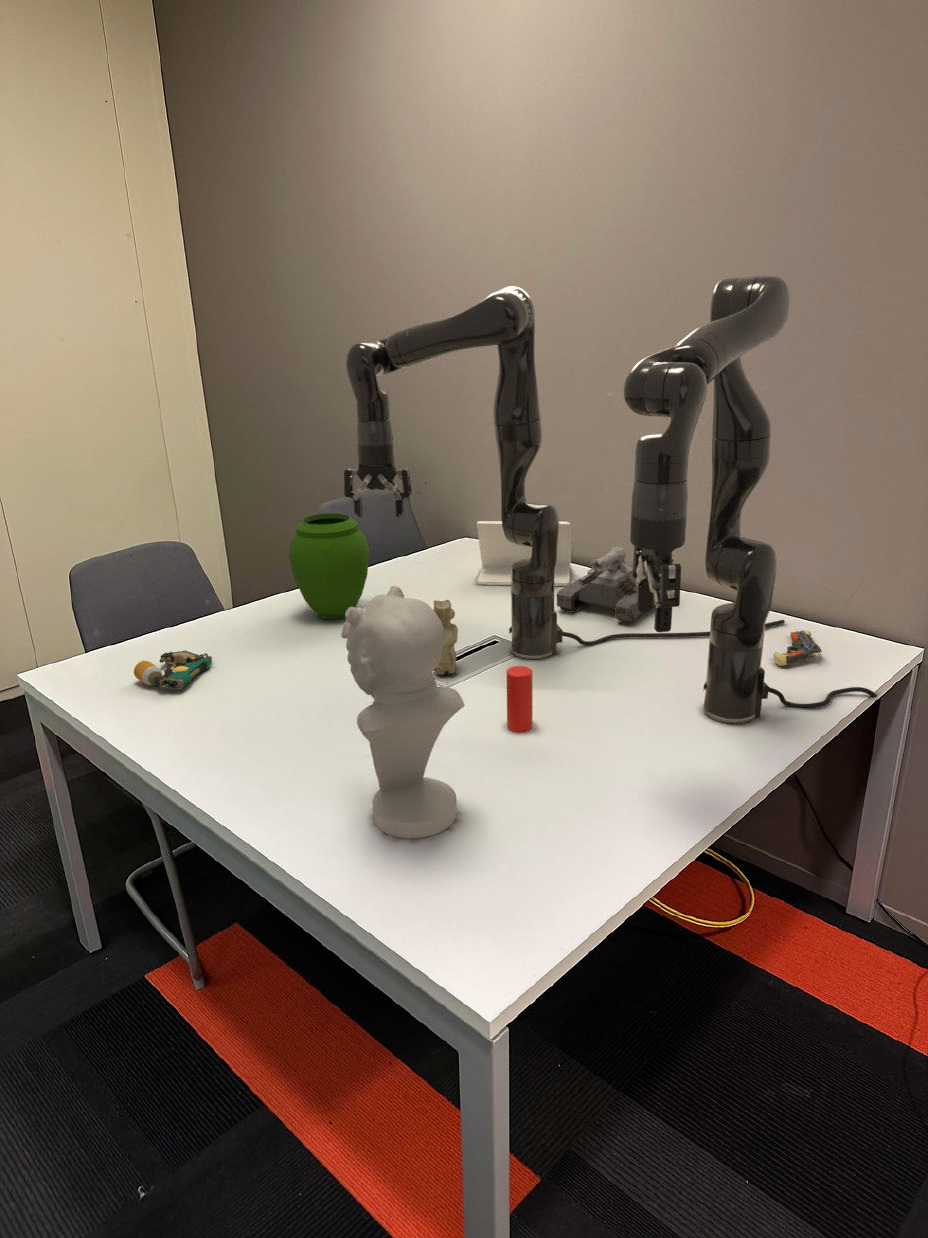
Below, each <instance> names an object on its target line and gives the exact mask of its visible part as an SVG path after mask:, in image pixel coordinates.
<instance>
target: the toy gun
mask: <svg viewBox="0 0 928 1238" xmlns="http://www.w3.org/2000/svg"><path fill="white" fill-rule="evenodd" d="M790 638H791V641H792V642H791V645H790V646H787V647H786V649H787V651H786V653H780V652H777V651H775V652H773V653H772V656H773V660H774V662H775V664H776V665H778V666H780V667H781V666H782V667H783V666H786V665H790V664H795V663H797V662H800V661H804V660H807V659H810V658H811V657H815V656H816V657H819V656H820V654H821V653H823V650H822V649H821V647H820V645H818V644H817V643H816V642H815V641H814V640H813V638H812V632H811V630H800V631H799V630H796V631H791V632H790Z"/></svg>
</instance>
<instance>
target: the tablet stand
mask: <svg viewBox="0 0 928 1238" xmlns="http://www.w3.org/2000/svg"><path fill="white" fill-rule="evenodd" d="M476 531H477V537H478V544H479V551H480V557H481V558H480V559H481V570H480V573H479V575H478V577H477V580H476V581H477V582H476V584H478V585H484V586H485V585H486V586H487V585H489V586H490V585H491V586H511V567H512V565H513V563H515V562H516V561H519V560H522V559H526V558H531V554H532V547H528V546H522V545H516V544H512V543H510V542H509V541H507V539H506V538H505V536H504V533H503V528H502V520H477V522H476ZM571 560H572V558H571V522H569V521H559V533H558V547H557V562H556V566H555V571H554V587H556V586H557V587H566V586H567V585H569V584H570V580H571V579H570V578H571V565H572V564H571Z"/></svg>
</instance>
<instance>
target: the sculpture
mask: <svg viewBox="0 0 928 1238" xmlns="http://www.w3.org/2000/svg"><path fill="white" fill-rule="evenodd" d="M433 611H434V612H435V613H436V614H437V615H438V617H439V619H440V620H441V623H442V625H443V628H444V634H445V636H444V647H443V652H442V656H441V659H440V662H439V664H438V666H437V667H436V668H435V669H436V671H437V674H438V675H445V674H446V672H447V673H448V674H455V673H456V666H457V665H456V663H457V652H456V649H455V644H456V643H457V642H458V637H459V635H458V634H459V627H458V626H457V624H455V623H453V622H451V621H452V620H453V619H454V618H455V615H456V611H455V609H453V608H452V602H451V601H450V599H445V600H433Z"/></svg>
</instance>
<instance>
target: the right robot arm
mask: <svg viewBox="0 0 928 1238" xmlns="http://www.w3.org/2000/svg"><path fill="white" fill-rule="evenodd" d="M791 299H792V297H791V290H790V286H789V284H788V282H787V281H786V280H785V279H784V278H782V277H781V276H777V275H758V276H757V275H755V276H741V277H740V276H739V277H728V278H727V277H726V278H724V279H721V280H719V281H718V282H717V284H716V285H715V287H714V289H713V291H712V295H711V301H710V316H709V317H710V318H709V319H710V320H709V322H707V323H705V324H702V325H701V326H698V327H697V328H695V329H694V330H692V331H690V332H689V333H688V334H687V335H686V336H685V337H683V338H682V339H680V341H679V342H677V343H676V344H675V345H674V346H672V347H669V348H666V349H663V350H660V351H658V352H656V353H653V354H651V355H649V356H647V357H645V358H643V359H641V360H640V361H639V362H637V363H636V364H635V365H634V366H633V367H632V368H631V369H630V371H629V373H628V375H627V377H626V379H625V382H624V386H623V397H624V401H625V403H626V406H627V407H628V408H629V410H631V411H632V412H633V413H634V414H637V415H640V416H643V417H660V418H662V417H663V418H670V422H669V424H668V426H667V428H666V430H665V431H663V432H656V433H650V434H646V435H643V436H641V437H640V438H639V439H638V440H637V442H636V447H635V459H634V479H633V488H632V494H631V509H630V510H631V511H630V512H631V513H630V535H629V537H630V539H629V540H630V544H631V545H632V546H634V547H633V560H632V561H633V564H632V566H633V573H632V575H633V578H634V579H635V578H636V585H637V586H639V587H638V595H637V609H638V610H639V611H640V612H646V611H650V612H652V610H654V623H653V624H654V625H653V629H654V630H655V631H656V633H670V631H671V630H672V619H673V616H672V615H673V608H676V607H678V608H679V607H680V604H681V583H682V582H681V580H682V578H681V576H682V566H681V564H680V563H675V560H674V559H673V554H672V553H673V552H674V551H675V550H676V549H680V548H681V547H682V546H684V544H685V542H686V532H687V531H686V529H687V517H688V516H687V514H688V501H689V500H688V499H689V497H688V496H689V494H688V493H689V492H688V470H689V469H688V467H689V453H690V447H691V444H692V440H693V436H694V433H695V429H696V426H697V424H698V420H699V417H700V415H701V411H702V409H703V406H704V403H705V401H706V398H707V397H706V396H707V392H708V385H709V384H710V383H712V381H713V411H712V429H711V431H712V432H711V466H712V467H711V498H710V513H709V522H708V529H707V530H708V531H707V538H706V548H705V558H704V559H705V561H704V564H705V566H704V567H705V572H706V575H707V578H708V579H709V580H710V581H711V583H713V584H715V585H717V586H719V587H723V588H725V589H729V590H732V591H736V592H737V593H736V599H735V602H729V603H724V604H720V605H718V606H716V607H714V608H713V610H712V611H711V615H710V628H709V629H710V630H709V632H710V636H709V639H708V640H709V642H708V656H707V666H706V667H707V668H706V679H705V682H704V684H703V689H702V690H703V692H705V694H704V703H703V710H702V711H703V713H704V714H705V715H706V716H707V717H708V718H709V719H712V720H714V721H716V722H720V723H724V724H734V725H739V724H740V725H741V724H746V723H749V722H752V721H754V720H755V719H760V718H761V713H762V706H763V705H762V703H763V700H768V699H769V693H771V694H773V695H775V696H777V697H778V699H779V701H780V703H781V704H783V705H784V706H786V707H789V708H795V709H807V710H808V709H815V708H822V707H824V706H827V705H828V704H830V702H831V700H832V698H833V697H834V696H838V695H842V694H847V693H857V692H858V693H864V694H867V695H869V696H870V697H872V698H877V697H878V695H877V694H876V693H875V692H874V691H873V690H871V689H869V688H868V687H867V688H866V687H861V686H851V687H844V688H840V689H835V690H832V691H830V692H828V694H826V697H825V699H824V700H822V701H818V702H811V703H795V702H791V701H788V700H786V699H785V695H784V693H782V692H781V691H779V690H778V689H775V688H774V687H770V686H769V685H768V684H767V683H766V682H765V676H766V671H765V669H764V668H763V667H762V658H763V649H764V640H765V639H764V638H765V629H766V628H765V624H766V623H767V622H766V621H767V619H768V616H769V613H770V611H771V607H772V600H773V594H774V588H775V583H776V577H777V569H778V560H777V559H778V556H777V553H776V550H775V548H774V547H773V546H772V545H771V544H769V543H767V542H764V541H760V540H757V539H752V538H748V537H743V536H742V531H741V530H742V529H741V528H742V527H741V526H742V515H743V511H744V508H745V505H746V503H747V501H748V499H749V498H750V496H751V495H752V493H753V492H754V490H755V489H756V487H757V486H758V485H759V483H760V481H761V480H762V478H763V477H764V475H765V473H766V472H767V470H768V468H769V465H770V460H771V445H772V422H771V418H770V416H769V413H768V411H767V409H766V407H765V406H764V404H763V402H762V400H761V399H760V397H759V395H758V394H757V392H756V391H755V389H754V387H753V386H752V383H751V382H750V380H749V379H748V376H747V374H746V371H745V369H744V365H743V359H742V356H743V355H746V354H747V353H748V352H750V351H752V350H753V349H756V348H757V347H759V346H761V345H762V344H764V343H766V342H768V341H770V340H772V339H773V338H776V337H777V336H778V335H780V334H781V332H782V331H783V330H784V329H785V328H786V325H787V323H788V320H789V318H790V313H791V307H792V306H791V304H792V303H791V302H792V300H791ZM658 584H660V585H658ZM666 592H667V593H668V598H666ZM653 594H654V598H655V605H656V606H655V608H654V609H653Z"/></svg>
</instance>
